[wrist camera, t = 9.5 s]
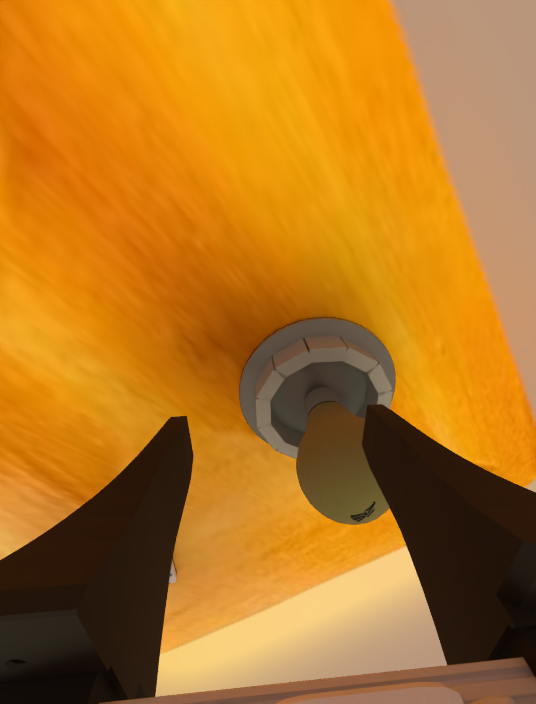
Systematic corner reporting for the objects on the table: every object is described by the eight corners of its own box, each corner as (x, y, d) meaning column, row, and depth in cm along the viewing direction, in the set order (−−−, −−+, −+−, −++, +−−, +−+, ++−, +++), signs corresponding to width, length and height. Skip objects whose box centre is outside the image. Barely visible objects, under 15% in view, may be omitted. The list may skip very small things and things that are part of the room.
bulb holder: (381, 444, 27) (394, 466, 25) (244, 454, 26) (244, 477, 24) (404, 313, 22) (422, 325, 20) (234, 321, 21) (232, 335, 19)
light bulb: (337, 431, 25) (388, 555, 16) (273, 417, 24) (290, 542, 15) (366, 374, 23) (444, 481, 14) (297, 355, 22) (334, 459, 13)
